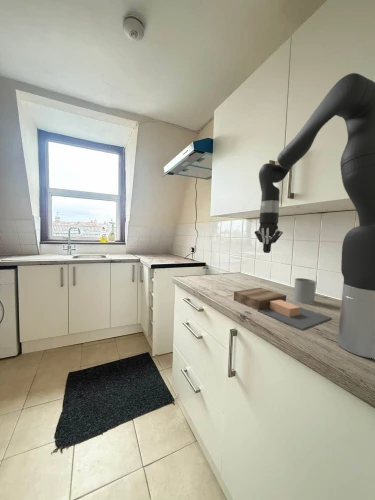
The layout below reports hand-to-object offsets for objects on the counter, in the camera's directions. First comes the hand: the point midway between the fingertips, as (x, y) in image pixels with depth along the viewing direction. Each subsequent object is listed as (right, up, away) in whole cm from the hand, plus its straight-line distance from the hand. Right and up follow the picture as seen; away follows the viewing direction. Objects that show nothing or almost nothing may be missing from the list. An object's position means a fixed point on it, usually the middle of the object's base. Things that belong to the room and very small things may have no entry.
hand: (266, 252), depth 86 cm
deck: (-2, -22, +3) cm, 23 cm away
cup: (+21, -23, +8) cm, 32 cm away
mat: (+6, -24, -10) cm, 27 cm away
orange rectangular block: (+4, -23, -8) cm, 25 cm away
